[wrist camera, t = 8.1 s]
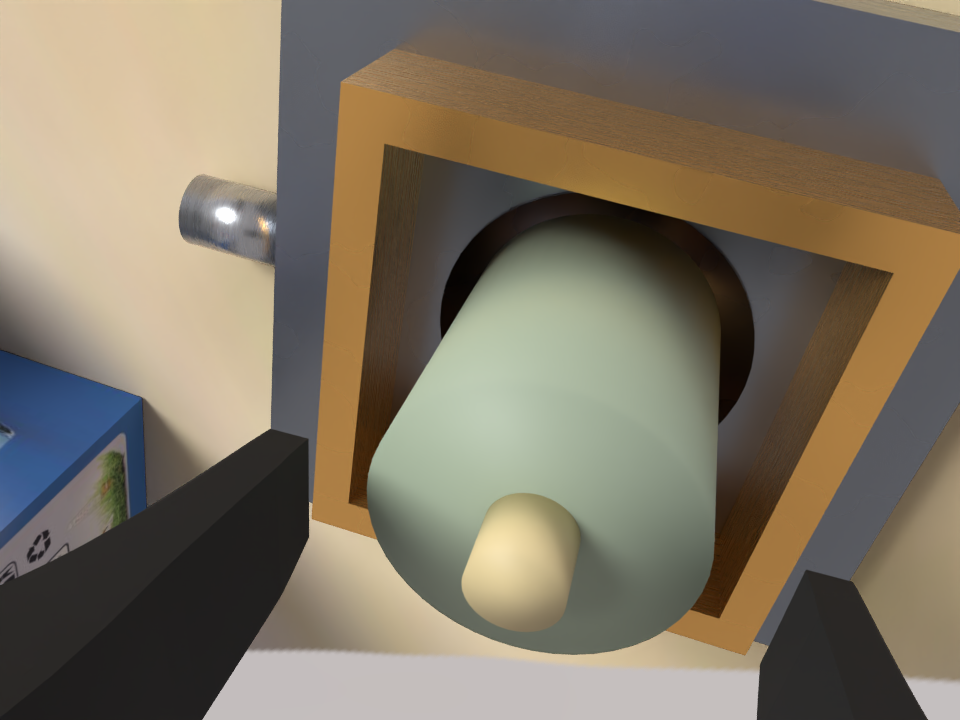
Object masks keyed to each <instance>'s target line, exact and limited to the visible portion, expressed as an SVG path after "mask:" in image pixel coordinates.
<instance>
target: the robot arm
mask: <svg viewBox="0 0 960 720" xmlns="http://www.w3.org/2000/svg"><path fill="white" fill-rule="evenodd" d="M308 538H309V439H308V438H304V437H301V436H297V435H293V434H289V433H285V432H281V431H278V430H274V429H269V430H268V431H266V432H265V433H263V434H261V435H260V436H258V437H257V438H255V439H253V440H252V441H250V442H249V443H247V444H246V445H244V446H243V447H241V448H240V449H238V450H237V451H235V452H234V453H232V454H231V455H229V456H228V457H226V458H225V459H223V460H222V461H220V462H218V463H217V464H215V465H214V466H212V467H211V468H209V469H208V470H206V471H205V472H203V473H202V474H200V475H199V476H197V477H196V478H194V479H193V480H191V481H189V482H188V483H186V484H185V485H183V486H181V487H180V488H178V489H177V490H175V491H173V492H172V493H170V494H169V495H167V496H165V497H164V498H162V499H161V500H159V501H157V502H156V503H154V504H153V505H151V506H150V507H148V508H146V509H145V510H143V511H141V512H140V513H138V514H136V515H135V516H133V517H131V518H129V519H128V520H126V521H124V522H122V523H120V524H119V525H117V526H115V527H113V528H112V529H110V530H108V531H106V532H105V533H103V534H101V535H99V536H98V537H96V538H94V539H92V540H91V541H89V542H87V543H85V544H83V545H82V546H80V547H78V548H76V549H74V550H72V551H70V552H68V553H66V554H64V555H63V556H61V557H59V558H57V559H55V560H53V561H51V562H49V563H47V564H45V565H42V566H40V567H38V568H36V569H34V570H32V571H30V572H28V573H26V574H23V575H21V576H19V577H17V578H15V579H13V580H11V581H9V582H6V583H4V584H2V585H0V720H202V719H203V718H204V716H205V715H206V713H207V711H208V710H209V708H210V707H211V705H212V703H213V702H214V701H215V699H216V697H217V696H218V694H219V693H220V691H221V690H222V688H223V687H224V685H225V683H226V682H227V680H228V679H229V677H230V676H231V674H232V672H233V671H234V669H235V668H236V666H237V665H238V663H239V662H240V660H241V658H242V657H243V655H244V654H245V652H246V651H247V649H248V648H249V646H250V645H251V643H252V641H253V640H254V638H255V637H256V635H257V633H258V632H259V630H260V629H261V627H262V626H263V624H264V622H265V621H266V619H267V618H268V616H269V615H270V613H271V611H272V610H273V608H274V607H275V605H276V603H277V602H278V600H279V598H280V597H281V595H282V593H283V591H284V589H285V587H286V585H287V583H288V581H289V579H290V577H291V575H292V573H293V571H294V568H295V566H296V564H297V562H298V560H299V558H300V555H301V553H302V551H303V549H304V547H305V545H306V542H307V540H308ZM757 720H928V719H927V717H926V716H925V714H924V712H923V711H922V709H921V707H920V705H919V704H918V702H917V700H916V699H915V697H914V695H913V693H912V691H911V690H910V688H909V686H908V684H907V682H906V681H905V679H904V677H903V675H902V673H901V671H900V669H899V668H898V666H897V664H896V662H895V660H894V658H893V656H892V655H891V653H890V651H889V649H888V647H887V645H886V643H885V641H884V640H883V638H882V636H881V634H880V632H879V630H878V628H877V626H876V624H875V622H874V620H873V618H872V617H871V615H870V613H869V611H868V609H867V607H866V605H865V603H864V601H863V599H862V597H861V595H860V594H859V592H858V590H857V588H856V587H855V585H854V583H853V582H852V581H848V580H844V579H840V578H836V577H833V576H829V575H825V574H821V573H817V572H814V571H810V570H805V572H804V575H803V577H802V579H801V581H800V583H799V585H798V587H797V589H796V591H795V593H794V595H793V597H792V599H791V601H790V604H789V606H788V608H787V610H786V612H785V614H784V616H783V618H782V620H781V622H780V624H779V626H778V628H777V631H776V633H775V635H774V637H773V639H772V641H771V643H770V645H769V647H768V649H767V651H766V653H765V655H764V657H763V660H762V662H761V664H760V675H759V691H758V708H757Z"/></svg>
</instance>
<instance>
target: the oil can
mask: <svg viewBox="0 0 960 720" xmlns="http://www.w3.org/2000/svg"><path fill="white" fill-rule="evenodd" d="M720 341H721V324H720V315H719V310H718V306H717V302H716V299H715V296H714V294H713V291H712V289H711V287H710V284H709V282H708V281H707V279H706V278H705V276H704V274H703V273H702V271H701V269H700V268H699V267H698V266H697V265H696V263H695V262H694V261H693V260H692V259H691V257H690V256H689V255H688V254H687V253H686V252H684V251H683V250H682V249H681V248H680V247H679V246H678V245H677V244H675V243H674V242H672V241H671V240H670V239H668V238H667V237H665V236H664V235H662V234H661V233H659V232H657V231H655V230H653V229H651V228H649V227H647V226H645V225H642V224H640V223H637V222H634V221H632V220H628V219H624V218H620V217H616V216H610V215H601V214H575V215H568V216H561V217H557V218H554V219H550V220H546V221H544V222H541V223H539V224H536V225H534V226H532V227H530V228H528V229H526V230H524V231H523V232H521V233H519V234H518V235H516V236H515V237H514V238H512V239H511V240H510V241H509V242H507V243H506V244H505V245H504V246H503V247H502V248H501V249H500V250H499V251H498V252H497V253H496V254H495V255H494V257H493V258H492V260H491V261H490V262H489V264H488V265H487V267H486V268H485V270H484V272H483V273H482V275H481V277H480V278H479V280H478V282H477V283H476V285H475V286H474V288H473V290H472V291H471V293H470V295H469V296H468V298H467V300H466V301H465V303H464V305H463V306H462V308H461V310H460V311H459V313H458V315H457V316H456V318H455V320H454V321H453V323H452V324H451V326H450V328H449V329H448V331H447V333H446V334H445V336H444V338H443V339H442V341H441V343H440V344H439V346H438V348H437V349H436V351H435V353H434V354H433V356H432V358H431V359H430V361H429V362H428V364H427V366H426V367H425V369H424V371H423V372H422V374H421V376H420V377H419V379H418V381H417V382H416V384H415V386H414V387H413V389H412V391H411V392H410V394H409V396H408V397H407V399H406V400H405V402H404V404H403V405H402V407H401V409H400V410H399V412H398V414H397V415H396V417H395V419H394V420H393V422H392V424H391V425H390V427H389V429H388V430H387V432H386V434H385V435H384V437H383V438H382V440H381V442H380V444H379V446H378V448H377V450H376V452H375V454H374V456H373V459H372V462H371V466H370V470H369V473H368V482H367V503H368V510H369V515H370V519H371V524H372V527H373V529H374V532H375V535H376V537H377V540H378V542H379V544H380V546H381V548H382V550H383V551H384V553H385V555H386V557H387V558H388V560H389V561H390V563H391V564H392V566H393V567H394V568H395V570H396V571H397V572H398V574H399V575H400V576H401V577H402V578H403V579H404V581H405V582H406V583H407V584H408V585H409V586H410V587H411V588H412V589H413V590H414V591H415V592H416V593H417V594H418V595H419V596H420V597H421V598H422V599H424V600H425V601H426V602H427V603H429V604H430V605H431V606H433V607H434V608H435V609H436V610H438V611H439V612H441V613H442V614H444V615H445V616H447V617H448V618H450V619H452V620H453V621H455V622H456V623H458V624H460V625H462V626H464V627H466V628H468V629H470V630H472V631H473V632H476V633H478V634H481V635H483V636H485V637H488V638H490V639H492V640H495V641H498V642H502V643H505V644H508V645H511V646H514V647H519V648H523V649H527V650H532V651H538V652H545V653H552V654H571V655H577V654H596V653H602V652H609V651H615V650H619V649H622V648H626V647H630V646H633V645H636V644H638V643H641V642H644V641H646V640H649V639H651V638H653V637H654V636H656V635H658V634H660V633H662V632H663V631H665V630H667V629H668V628H669V627H671V626H672V625H673V624H675V623H676V622H677V621H679V620H680V619H681V618H682V617H683V616H684V615H685V614H686V613H687V612H688V611H689V610H690V609H691V608H692V607H693V605H694V604H695V602H696V601H697V599H698V598H699V596H700V595H701V593H702V592H703V590H704V587H705V585H706V583H707V581H708V578H709V576H710V572H711V568H712V563H713V559H714V540H715V507H716V474H717V441H718V407H719V374H720Z"/></svg>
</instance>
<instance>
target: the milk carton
mask: <svg viewBox="0 0 960 720" xmlns="http://www.w3.org/2000/svg"><path fill="white" fill-rule="evenodd" d="M146 508H147V504H146V480H145V456H144V433H143V409H142V398H141V397H139V396H136V395H133V394H130V393H127V392H124V391H121V390H118V389H115V388H112V387H109V386H106V385H103V384H100V383H97V382H94V381H91V380H88V379H85V378H82V377H79V376H76V375H73V374H70V373H67V372H65V371H62V370H59V369H56V368H53V367H50V366H47V365H44V364H41V363H38V362H35V361H32V360H29V359H26V358H23V357H20V356H17V355H14V354H11V353H8V352H5V351H2V350H0V585H2V584H4V583H6V582H9V581H11V580H13V579H15V578H17V577H19V576H21V575H23V574H26V573H28V572H30V571H32V570H34V569H36V568H38V567H40V566H42V565H45V564H47V563H49V562H51V561H53V560H55V559H57V558H59V557H61V556H63V555H64V554H66V553H68V552H70V551H72V550H74V549H76V548H78V547H80V546H82V545H83V544H85V543H87V542H89V541H91V540H92V539H94V538H96V537H98V536H99V535H101V534H103V533H105V532H106V531H108V530H110V529H112V528H113V527H115V526H117V525H119V524H120V523H122V522H124V521H126V520H128V519H129V518H131V517H133V516H135V515H136V514H138V513H140V512H141V511H143V510H145V509H146Z"/></svg>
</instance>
